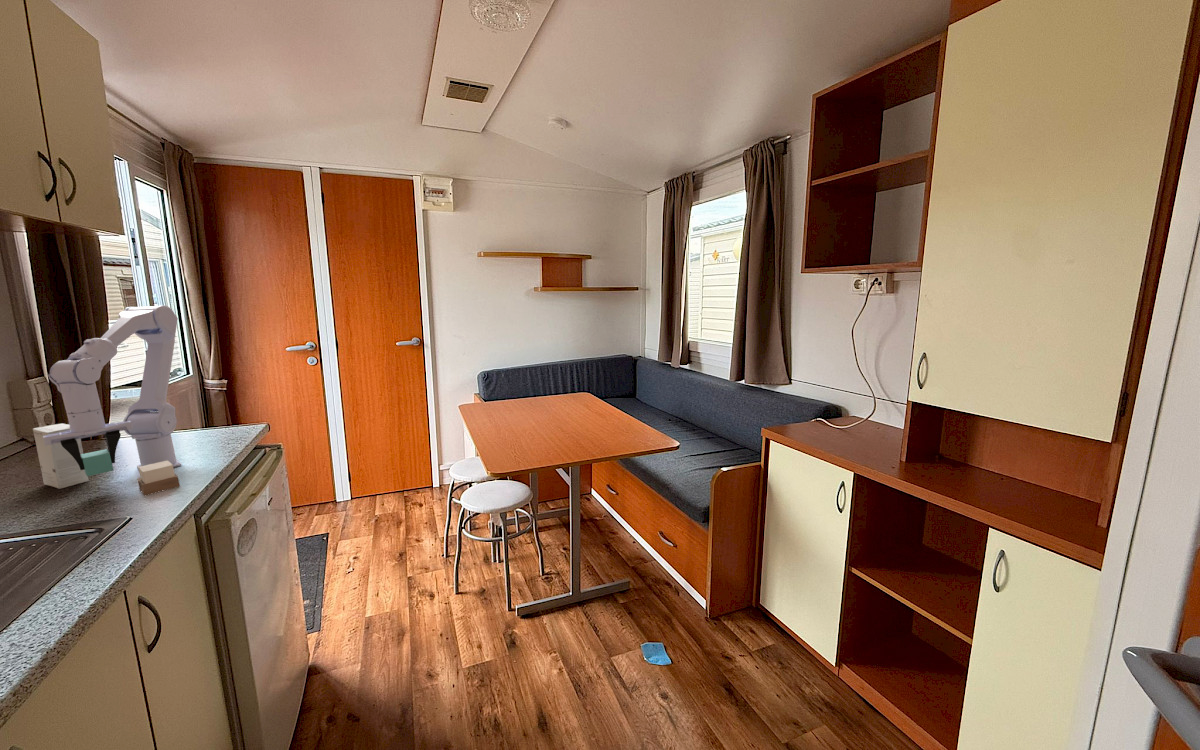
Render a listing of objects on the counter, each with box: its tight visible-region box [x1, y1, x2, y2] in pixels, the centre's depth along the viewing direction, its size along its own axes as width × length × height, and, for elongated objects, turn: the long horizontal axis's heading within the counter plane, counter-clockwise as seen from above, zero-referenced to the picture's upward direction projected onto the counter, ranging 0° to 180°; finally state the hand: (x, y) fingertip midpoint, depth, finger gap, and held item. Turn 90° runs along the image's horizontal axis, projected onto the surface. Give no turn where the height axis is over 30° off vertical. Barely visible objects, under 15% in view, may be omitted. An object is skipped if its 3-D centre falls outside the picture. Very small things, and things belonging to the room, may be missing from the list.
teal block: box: [80, 448, 114, 478], centre depth 118 cm, size 4×4×4 cm
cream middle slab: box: [137, 460, 176, 484], centre depth 120 cm, size 6×6×3 cm
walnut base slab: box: [137, 473, 181, 496], centre depth 121 cm, size 6×6×3 cm
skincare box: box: [32, 423, 90, 490], centre depth 125 cm, size 8×6×15 cm
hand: (97, 465), depth 118 cm, fingers closed on teal block, 4 cm apart
